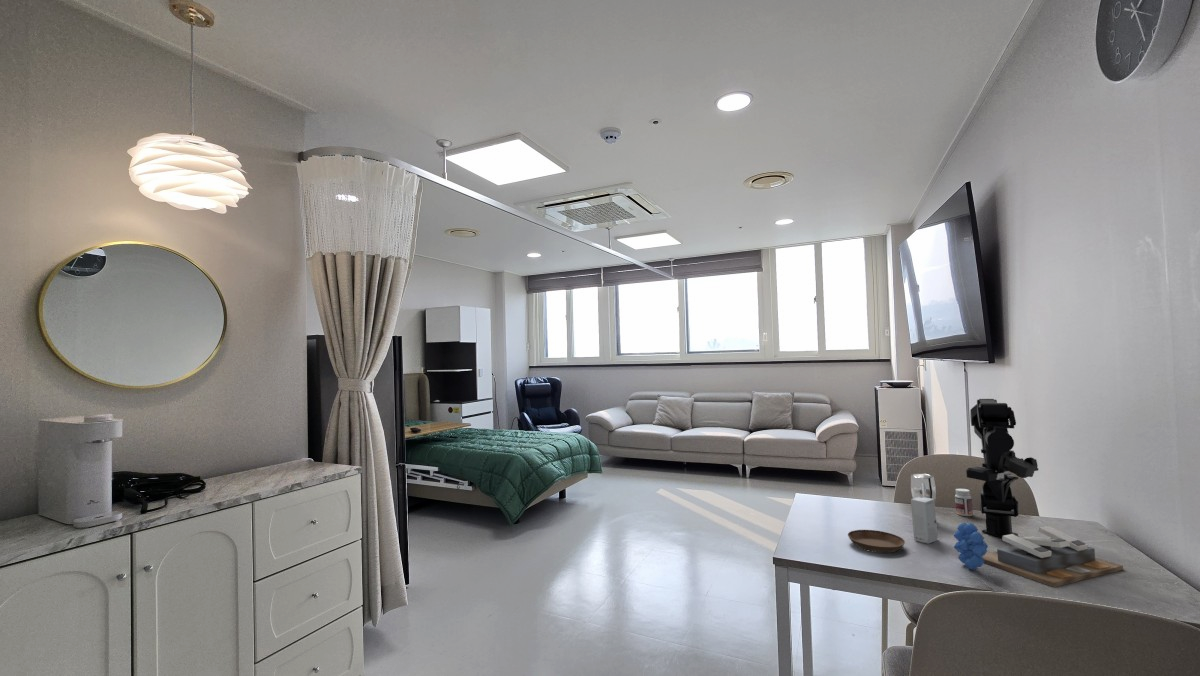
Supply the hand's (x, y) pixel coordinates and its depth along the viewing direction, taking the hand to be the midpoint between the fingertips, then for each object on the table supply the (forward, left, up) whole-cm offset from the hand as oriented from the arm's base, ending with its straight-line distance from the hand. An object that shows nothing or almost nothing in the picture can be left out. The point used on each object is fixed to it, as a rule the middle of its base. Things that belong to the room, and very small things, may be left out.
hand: (1001, 501), depth 142 cm
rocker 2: (-4, +12, -7) cm, 14 cm away
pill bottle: (-20, -26, -13) cm, 35 cm away
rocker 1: (+10, +12, -7) cm, 17 cm away
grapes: (+22, +7, -13) cm, 27 cm away
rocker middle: (+3, +12, -7) cm, 14 cm away
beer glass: (-2, -26, -13) cm, 29 cm away
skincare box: (+14, -13, -13) cm, 23 cm away
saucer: (+31, -15, -13) cm, 37 cm away
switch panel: (+3, +12, -13) cm, 18 cm away
